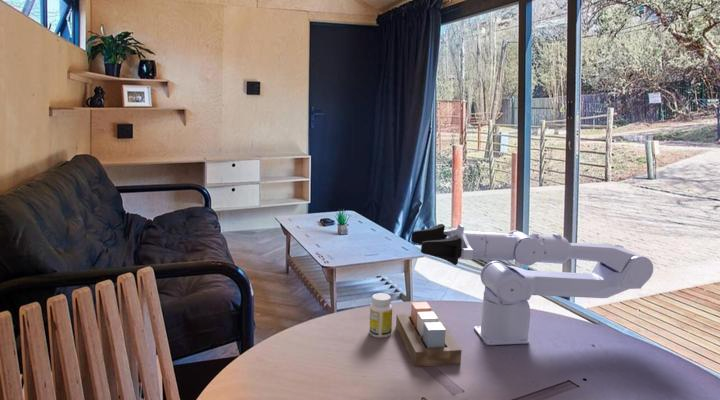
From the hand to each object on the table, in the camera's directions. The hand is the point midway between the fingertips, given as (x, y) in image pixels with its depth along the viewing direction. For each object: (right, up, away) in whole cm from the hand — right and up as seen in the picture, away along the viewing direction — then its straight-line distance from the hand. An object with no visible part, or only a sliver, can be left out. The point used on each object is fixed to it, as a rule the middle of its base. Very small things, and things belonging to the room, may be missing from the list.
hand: (416, 241), depth 105 cm
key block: (+2, -22, +3) cm, 22 cm away
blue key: (+3, -20, -2) cm, 20 cm away
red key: (+2, -18, +7) cm, 19 cm away
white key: (+2, -19, +2) cm, 19 cm away
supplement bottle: (-7, -21, +8) cm, 23 cm away
